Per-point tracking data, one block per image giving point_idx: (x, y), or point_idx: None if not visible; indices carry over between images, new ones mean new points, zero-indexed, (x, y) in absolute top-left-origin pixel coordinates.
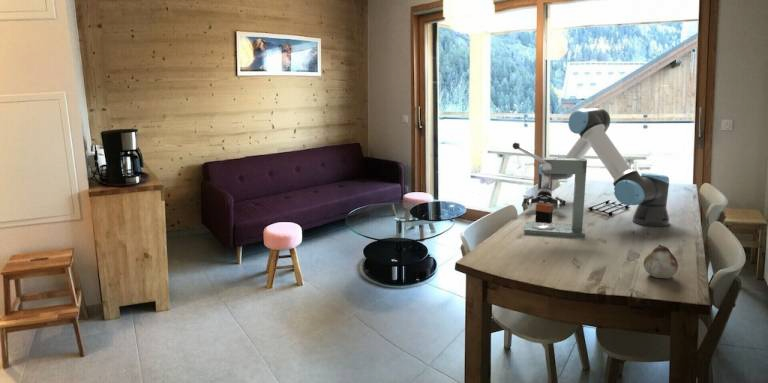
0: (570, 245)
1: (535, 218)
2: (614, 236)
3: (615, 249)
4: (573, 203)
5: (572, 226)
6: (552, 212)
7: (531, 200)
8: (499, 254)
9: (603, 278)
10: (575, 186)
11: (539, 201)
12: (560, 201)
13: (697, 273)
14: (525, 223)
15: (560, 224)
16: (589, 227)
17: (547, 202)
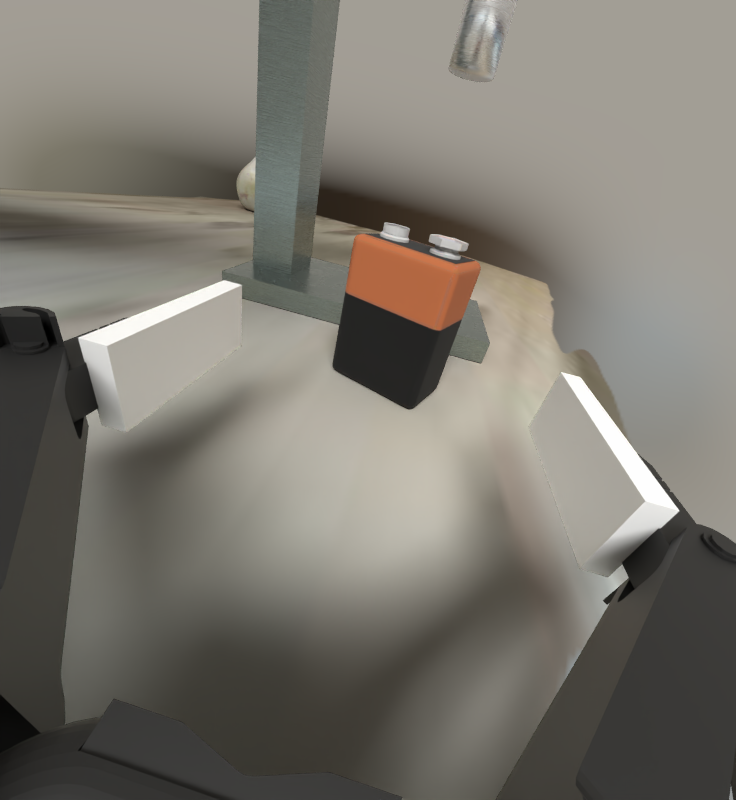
0: (347, 263)
1: (442, 370)
2: (158, 249)
3: (248, 236)
4: (310, 141)
5: (310, 250)
6: (344, 300)
7: (645, 588)
8: (500, 282)
9: (344, 229)
10: (335, 24)
11: (465, 244)
12: (58, 343)
13: (187, 198)
14: (485, 329)
15: (327, 294)
16: (162, 295)
17: (401, 228)
